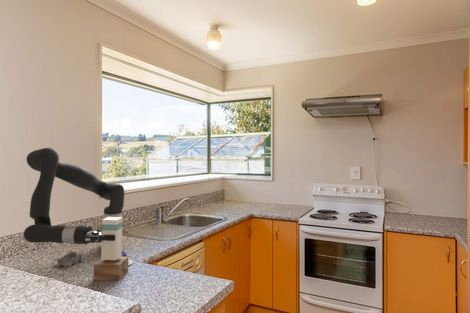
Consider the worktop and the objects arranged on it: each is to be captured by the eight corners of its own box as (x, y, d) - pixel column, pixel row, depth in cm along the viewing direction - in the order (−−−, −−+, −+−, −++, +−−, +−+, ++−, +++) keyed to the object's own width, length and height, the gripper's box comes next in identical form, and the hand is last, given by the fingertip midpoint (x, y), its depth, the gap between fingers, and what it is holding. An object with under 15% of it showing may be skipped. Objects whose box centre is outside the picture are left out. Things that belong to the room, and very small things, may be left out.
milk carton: (107, 254, 130) (108, 216, 130) (121, 255, 130) (122, 217, 130) (101, 259, 124) (101, 219, 124) (116, 260, 124) (116, 220, 124)
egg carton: (72, 258, 147) (73, 249, 147) (85, 260, 144) (85, 251, 144) (53, 266, 136) (53, 256, 136) (67, 268, 134) (67, 258, 134)
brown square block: (104, 270, 132) (104, 256, 132) (128, 270, 132) (128, 256, 132) (93, 279, 122) (93, 264, 122) (118, 280, 122) (119, 265, 122)
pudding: (98, 266, 136) (98, 255, 136) (118, 258, 148) (118, 247, 148) (120, 271, 132) (120, 258, 132) (138, 262, 143) (138, 250, 143)
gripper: (67, 229, 120) (111, 230, 119) (86, 221, 134) (124, 222, 134) (67, 249, 120) (110, 250, 119) (86, 238, 134) (124, 239, 134)
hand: (118, 235), depth 127 cm, fingers closed on milk carton, 6 cm apart
